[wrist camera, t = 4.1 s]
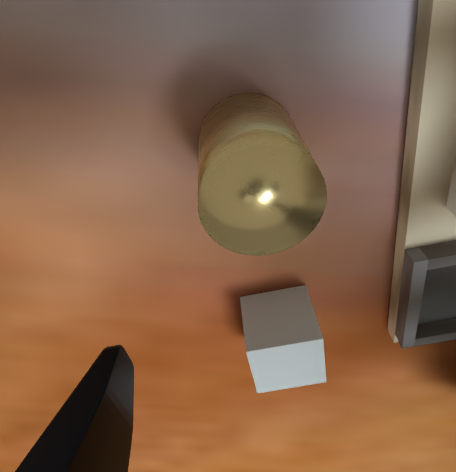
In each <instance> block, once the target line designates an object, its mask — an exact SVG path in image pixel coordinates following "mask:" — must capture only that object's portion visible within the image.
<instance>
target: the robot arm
mask: <svg viewBox="0 0 456 472" xmlns="http://www.w3.org/2000/svg"><path fill="white" fill-rule="evenodd" d="M133 399H134V367H133V363H132V361H131V359H130V358H129V356H128V354H127V353H126V351H125V349H124V348H123V346H121V345H114V346H109V347H106V348H105V349H103V351H102V352H101V353H100V355H99V356H98V358H97V359H96V360H95V362H94V363H93V364H92V366H91V367H90V369H89V370H88V371H87V373H86V374H85V376H84V377H83V378H82V380H81V381H80V382H79V384H78V385H77V387H76V388H75V389H74V391H73V392H72V394H71V395H70V396H69V398H68V399H67V400H66V402H65V403H64V405H63V406H62V407H61V409H60V410H59V411H58V413H57V414H56V416H55V417H54V418H53V420H52V421H51V423H50V424H49V425H48V427H47V428H46V429H45V431H44V432H43V434H42V435H41V436H40V438H39V439H38V441H37V442H36V443H35V445H34V446H33V447H32V449H31V450H30V452H29V453H28V454H27V456H26V457H25V458H24V460H23V461H22V463H21V464H20V465H19V467H18V468H17V470H16V471H15V472H128V465H129V458H130V450H131V442H132V432H133Z"/></svg>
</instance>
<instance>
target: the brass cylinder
mask: <svg viewBox="0 0 456 472" xmlns="http://www.w3.org/2000/svg"><path fill="white" fill-rule="evenodd" d="M326 198H327V192H326V185H325V181H324V178H323V176H322V174H321V172H320V170H319V168H318V167H317V165H316V163H315V161H314V159H313V158H312V156H311V154H310V152H309V151H308V149H307V147H306V145H305V143H304V142H303V140H302V138H301V136H300V135H299V133H298V131H297V129H296V128H295V126H294V124H293V122H292V120H291V119H290V117H289V115H288V114H287V112H286V111H285V109H284V108H283V107H282V106H281V105H280V104H279V103H277V102H276V101H274V100H273V99H271V98H269V97H267V96H264V95H260V94H255V93H243V94H237V95H234V96H231V97H228V98H226V99H224V100H223V101H221V102H219V103H218V104H217V105H216V106H214V107H213V108H212V110H211V111H210V112H209V113H208V114H207V116H206V117H205V119H204V121H203V123H202V126H201V128H200V133H199V147H198V212H199V216H200V220H201V222H202V225H203V227H204V229H205V230H206V232H207V233H208V234H209V236H210V237H211V238H212V239H213V240H214V241H216V242H217V243H218V244H220V245H221V246H223V247H224V248H226V249H228V250H231V251H233V252H237V253H240V254H245V255H268V254H273V253H277V252H280V251H283V250H286V249H288V248H290V247H292V246H294V245H296V244H297V243H299V242H300V241H302V240H303V239H304V238H306V237H307V236H308V235H309V234H310V233H311V232H312V231H313V229H314V228H315V227H316V225H317V224H318V222H319V221H320V219H321V217H322V215H323V212H324V209H325V205H326Z"/></svg>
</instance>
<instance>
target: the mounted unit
mask: <svg viewBox="0 0 456 472" xmlns="http://www.w3.org/2000/svg"><path fill="white" fill-rule="evenodd" d="M387 330H388V332H389V334H390V336H391V338H392V340H393V342H394V343H396V342H399V343H400V345H401V347H402V348H407V347H413V346H419V345H425V344H431V343H437V342H443V341H449V340H455V339H456V0H419V2H418V13H417V23H416V34H415V44H414V55H413V65H412V76H411V86H410V97H409V107H408V118H407V129H406V139H405V150H404V160H403V171H402V181H401V192H400V202H399V213H398V223H397V234H396V244H395V255H394V265H393V276H392V286H391V297H390V307H389V318H388V328H387Z"/></svg>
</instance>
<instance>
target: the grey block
mask: <svg viewBox="0 0 456 472" xmlns="http://www.w3.org/2000/svg"><path fill="white" fill-rule="evenodd" d="M240 303H241V312H242V321H243V329H244V338H245V346H246V353H247V357H248V361H249V364H250V368H251V371H252V375H253V379H254V382H255V386H256V390H257V393H262V392H268V391H274V390H280V389H287V388H293V387H299V386H305V385H311V384H317V383H323V382H326V371H325V357H324V342H323V336H322V333H321V330H320V327H319V324H318V321H317V318H316V315H315V312H314V309H313V305H312V302H311V299H310V296H309V293H308V290H307V287H306V285H303V286H297V287H292V288H286V289H281V290H275V291H270V292H265V293H259V294H254V295H248V296H243V297H240Z"/></svg>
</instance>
